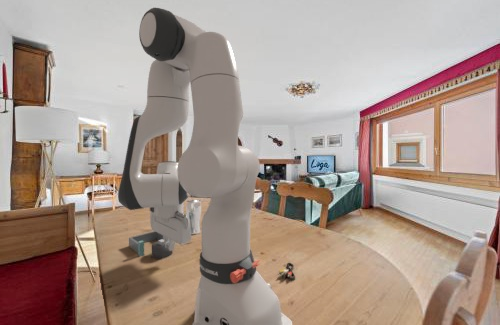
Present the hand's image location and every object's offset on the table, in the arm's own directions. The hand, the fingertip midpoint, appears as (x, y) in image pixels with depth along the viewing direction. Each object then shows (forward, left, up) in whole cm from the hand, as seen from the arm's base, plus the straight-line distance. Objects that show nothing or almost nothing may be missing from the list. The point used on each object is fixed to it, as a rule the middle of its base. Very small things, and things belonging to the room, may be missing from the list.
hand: (169, 249), depth 72 cm
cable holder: (+19, -1, -5) cm, 19 cm away
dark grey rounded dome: (+8, -1, -5) cm, 9 cm away
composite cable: (-34, -22, -5) cm, 41 cm away
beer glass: (+18, -21, -5) cm, 28 cm away
